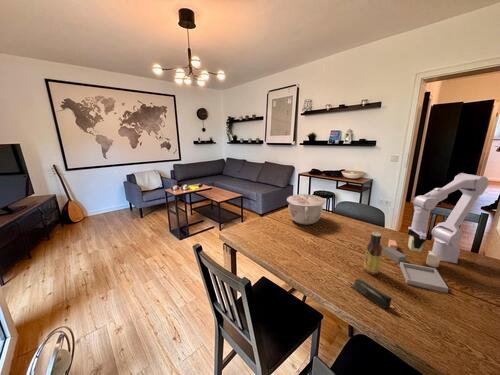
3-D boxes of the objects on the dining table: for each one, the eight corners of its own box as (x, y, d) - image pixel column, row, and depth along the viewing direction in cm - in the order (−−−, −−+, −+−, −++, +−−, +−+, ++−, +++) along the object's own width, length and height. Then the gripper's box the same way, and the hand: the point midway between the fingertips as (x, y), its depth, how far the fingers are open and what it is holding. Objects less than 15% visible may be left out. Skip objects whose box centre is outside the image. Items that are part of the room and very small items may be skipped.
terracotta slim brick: (394, 246, 119) (395, 240, 118) (396, 251, 113) (397, 245, 112) (387, 245, 120) (388, 239, 119) (389, 250, 115) (390, 244, 114)
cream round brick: (436, 262, 103) (438, 254, 102) (439, 268, 99) (442, 259, 98) (424, 260, 105) (426, 252, 104) (427, 266, 101) (429, 257, 99)
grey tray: (434, 272, 96) (435, 268, 95) (447, 293, 84) (448, 288, 83) (399, 265, 101) (400, 261, 101) (406, 284, 89) (407, 279, 89)
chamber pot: (301, 211, 174) (301, 187, 168) (331, 221, 153) (333, 194, 148) (278, 220, 157) (278, 194, 151) (308, 233, 136) (310, 203, 131)
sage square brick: (418, 247, 104) (420, 237, 103) (421, 251, 101) (423, 241, 99) (407, 245, 106) (409, 235, 105) (410, 250, 102) (412, 239, 101)
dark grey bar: (392, 296, 77) (354, 274, 89) (389, 300, 75) (350, 277, 87) (390, 307, 78) (352, 283, 90) (386, 311, 77) (348, 286, 89)
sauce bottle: (365, 265, 102) (369, 228, 97) (379, 270, 99) (385, 232, 93) (361, 272, 98) (367, 234, 92) (377, 277, 94) (383, 238, 89)
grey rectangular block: (389, 252, 113) (390, 246, 112) (405, 262, 104) (406, 256, 103) (382, 253, 112) (383, 247, 111) (397, 263, 103) (399, 257, 102)
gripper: (406, 213, 107) (402, 237, 111) (414, 225, 95) (409, 251, 98) (423, 215, 104) (418, 239, 108) (434, 227, 92) (428, 254, 95)
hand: (415, 245), depth 103 cm, fingers closed on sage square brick, 4 cm apart
